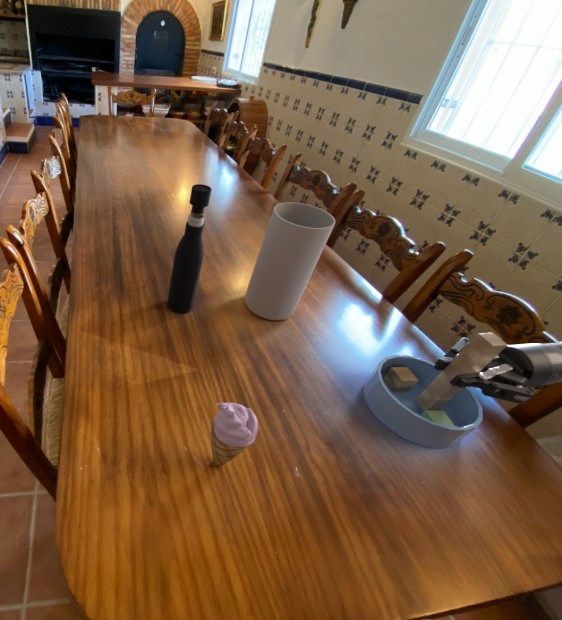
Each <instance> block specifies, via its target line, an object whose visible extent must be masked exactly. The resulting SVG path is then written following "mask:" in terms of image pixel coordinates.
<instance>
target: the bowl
mask: <svg viewBox="0 0 562 620" xmlns="http://www.w3.org/2000/svg"><path fill="white" fill-rule="evenodd" d="M434 366H435V363H433V362H431V361H428V360H426V359H423V358H420V357H416V356H412V355H405V354H394V355H389V356H385V357H384V358H383V359H382V360H381V361H379V362H378V364H377V365H376V366H375V367H374V369H373V371H372V372H371V373H370V374H369V376H368V377H367V378H366V379H365V382H364V384H363V386H362V387H363V388H362V393H363V397H364V400H365V403H366V405H367V407H368V409H369V410H370V411H371V413H372V414H373V416H375V417H376V418H377V420H378V421H380V422H381V423H382V424H383V426H385V427H386V428H387V429H389V431H391V432H393V433H395V434H396V435H397V436H400V437H402V438H403V439H405V440H406V441H409V442H410V443H413V444H416V445H419V446H423V447H427V448H430V449H431V448H432V449H446V448H449V447H452V446H454V445H456V444H458V443H459V442H460V441H462V440H464V438H465V437H466V436H467V435H469V434H470V433H472V432H473V431H474V430H475V429H476V428H477V427H478V426H479V425H480V424H481V422H482V421H483V419H484V415H483V413H484V412H483V407H482V405H481V402H480V401H479V399H478V397H477V396H476V394H475V393H474V392H473V391H472V390H471V389H470V387H464V388H462V389H461V390H460V391H459V392H458V393H457V394H456V395H454V396H453V397H452V398H451V399H450V400H449V401H448V402H447V403H446V404H445V405H444V406H443V407H442V408H441V409H440V410H439V411H444V412H445V413H446V415H447V416H448V417H449V419H450V420H451V421H452V422H453V424H454V425H455V426H456V427H449V426H445V425H442V424H438V423H435V422H432V421H430V420H428V419H426V418H424V417H422V416H420V415H421V414H422V413H423V412H424V410H423V409H422V408H421V407H420V406H419V405H418V403H417V402H416V401H415V399H416V398H417V397H418V396H419V395H420V394H421V393H422V392H423V391H424V390H425V389H426V388H427V387H428V386H429V385H430V384H431V383H432V382H433V380H434V379H435V378H436V377H437V376H438V375H439V374H440V373H441V372H442V371H443V370H440V371H437V370H436V369H435V368H434ZM391 367H408V369H409V370H410V371H411V372H412V373H413V375H414V376H415V377H416V378H417V379H418V380H419V381H418V382H417V383H416V384H415V385H414V386H413V387H412V388H411V389H410V391H404V392H393V391H392V390H391V388H390V387H389V386H388V384H387V383H386V382H385V381H384V379H383V377H384V376H385V375H386V373H387V372H388V371H389V370H390V369H391Z"/></svg>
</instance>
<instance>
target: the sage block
mask: <svg viewBox="0 0 562 620" xmlns="http://www.w3.org/2000/svg"><path fill="white" fill-rule="evenodd" d="M420 416H422V417H424V418H426V419H428V420H430V421H432V422H435V423H438V424H442V425H445V426H449V427H456V426H455V425H454V424H453V422H452V421H451V420H450V419H449V417H448V416H447V415H446V413H445V412H444V411H433V410H425V411H424V412H423V413H422V414H421V415H420Z"/></svg>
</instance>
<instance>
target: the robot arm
mask: <svg viewBox="0 0 562 620" xmlns="http://www.w3.org/2000/svg"><path fill="white" fill-rule="evenodd" d="M470 342H471V340H470V339H469V338H467V337H462V338H461V339H460V340H458V341H457V342H456V343H455V344H453V346H451V347H450V349H449V350H448V351H447V352H446V353H445V354H444V355H443V357H440V358H438V360H436V362H435V363H434V364H435V366H434V368H435V369H436V370H437V371H440V370H444V369H445V368H446V367H447V366H448V365H449V364H450V363H451V362H452V361H453V359H454V358H455V357H456V356H457V355H458V354H459V353H460V352H461V351H462V350H463V349H464V348H465V347H466V346H467V345H468V344H469V343H470ZM449 383H450V384H451V385H452V386H458V387H460V388H464V387H468V388H474V389H480V390H481V391H480V392H481V394H482V395H484V396H485V397H490V398H493V399H498V400H501V401H505V402H511V403H515V404H519V405H522V404H524V403H525V402H527V400H528V399H530V398H531V397H533V395H535V394H534V392H533V391H532V390H530V389H529V388H533V387H540V386H549V385H553V384H556V383H562V339H561V340H559V341H557V342H547V343H538V342H537V343H536V342H533V343H519V344H508V345H507V346H506V347H505V348H504V349H503V350H502V351H501V352H500V353H499V354H498V355H497V356H496V357H495V358H494V359H493V360H492V361H490V362H489V363H488V364H487V365H486V366H485V367H484V368H483V369H482V370H481V371H480V372H479V373H478V374H477V375H476V374H475V373H474V374H461V375H456V376H455V377H454V378H453V379H452V380H451V381H450V382H449ZM497 390H498V391H497Z"/></svg>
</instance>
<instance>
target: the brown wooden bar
mask: <svg viewBox="0 0 562 620" xmlns="http://www.w3.org/2000/svg"><path fill="white" fill-rule="evenodd" d="M507 345H509V344H507V342H505V341H504V340H503V339H501V338H500V337H499V336H498V335H496V334H495V333H494V332H483V333H481V332H480V333H477V334H476V335H475V336H474V337H473V338H472V339H471V340H470V342H469V343H468V345H467V346H466V347H465V348H464V349H463V350H462V351H461V352H460V353H459V354H458V355H457V356H456V357H455V358H454V359H453V361H452V362H451V363H450V364H449V365H448V366H447V367H446V368H445V369H444V370H443V371H442V372H441V373H440V374H439V375H438V376H437V377H436V378H435V379H434V380H433V382H432V383H431V384H430V385H429V386H428V387H427V388H426V389H425V390H424V391H423V392H422V393H421V394H420V395H419V396H418V397H417V398H416V399H415V401H416V402H417V403H418V405H419V406H420V407H421V408H422V409H423V410H424V411H425V410H433V411H439V410H440V409H441V408H442V407H443V406H444V405H445V404H446V403H447V402H448V401H449V400H450V399H451V398H452V397H453V396H454V395H456V394H457V393H458V392H459V391H460V390H461V389H462V388H460V387H458V386H452V385H451V384H450V383H449V382H450V381H451V380H452V379H453V378H454V377H455V376H456V375H461V374H474V373H475V374H476V375H478V373H479V372H480V371H481V370H482V369H483V368H484V367H485V366H486V365H487V364H488V363H489V362H490V361H492V360H493V359H494V358H495V357H496V356H497V355H498V354H499V353H500V352H501V351H502V350H503V349H504V348H505V347H506V346H507Z"/></svg>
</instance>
